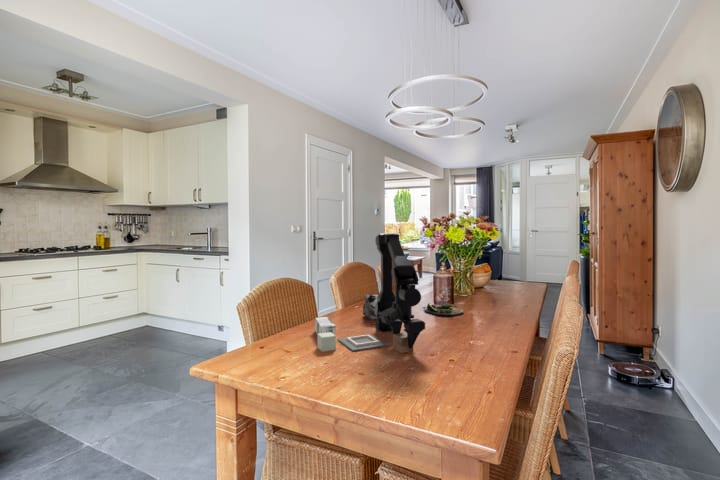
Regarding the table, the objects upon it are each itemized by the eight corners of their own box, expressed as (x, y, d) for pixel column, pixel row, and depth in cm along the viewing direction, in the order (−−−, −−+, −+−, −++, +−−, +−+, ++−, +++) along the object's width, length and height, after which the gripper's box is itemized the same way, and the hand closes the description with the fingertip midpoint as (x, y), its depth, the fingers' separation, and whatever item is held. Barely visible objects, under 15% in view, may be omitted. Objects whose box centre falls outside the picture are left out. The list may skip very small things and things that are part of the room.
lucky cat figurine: (396, 315, 180) (400, 292, 173) (386, 330, 171) (389, 307, 164) (368, 303, 186) (371, 281, 178) (357, 318, 176) (359, 295, 169)
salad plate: (445, 306, 200) (445, 298, 200) (472, 313, 185) (472, 304, 185) (417, 311, 189) (417, 302, 189) (444, 318, 174) (444, 308, 174)
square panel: (371, 335, 147) (371, 332, 147) (388, 346, 135) (388, 342, 134) (337, 340, 141) (337, 336, 141) (352, 351, 129) (352, 347, 129)
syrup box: (328, 330, 155) (336, 340, 141) (314, 331, 153) (321, 342, 139) (328, 316, 155) (336, 325, 141) (314, 317, 153) (321, 326, 139)
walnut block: (405, 346, 135) (405, 332, 134) (413, 350, 130) (413, 336, 130) (393, 348, 132) (393, 334, 132) (400, 352, 128) (400, 338, 128)
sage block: (330, 345, 135) (330, 332, 135) (335, 349, 131) (335, 335, 131) (317, 347, 133) (317, 333, 133) (322, 352, 129) (322, 337, 129)
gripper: (370, 297, 136) (370, 340, 136) (396, 307, 119) (396, 356, 119) (397, 294, 140) (397, 336, 141) (426, 304, 123) (426, 351, 124)
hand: (403, 344), depth 131 cm, fingers open, 9 cm apart
